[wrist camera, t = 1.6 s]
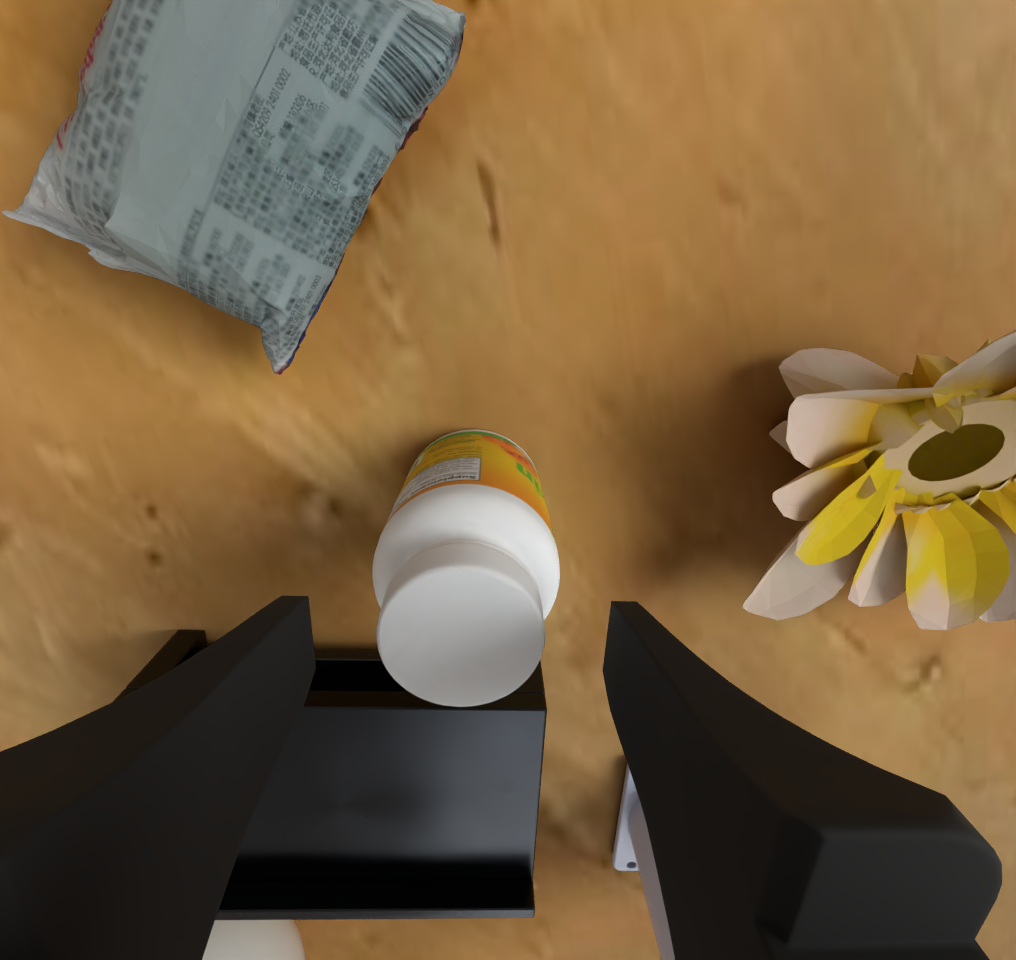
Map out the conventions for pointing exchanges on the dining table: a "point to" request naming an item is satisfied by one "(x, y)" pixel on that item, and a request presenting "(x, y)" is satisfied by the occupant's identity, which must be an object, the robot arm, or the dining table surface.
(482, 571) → the supplement bottle
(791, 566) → the decorative flower
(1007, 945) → the dining table surface
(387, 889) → the black lipped tray
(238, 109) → the packaged food
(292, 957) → the trinket box
